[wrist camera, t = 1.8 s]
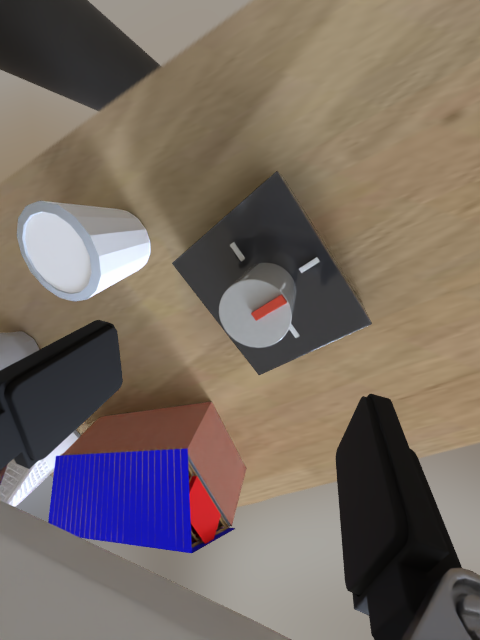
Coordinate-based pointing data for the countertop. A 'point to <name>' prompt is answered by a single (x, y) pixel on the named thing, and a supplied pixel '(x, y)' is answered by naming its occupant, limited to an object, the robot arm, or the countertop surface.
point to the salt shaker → (15, 347)
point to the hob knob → (259, 305)
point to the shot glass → (80, 247)
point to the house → (150, 479)
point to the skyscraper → (30, 474)
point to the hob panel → (285, 251)
